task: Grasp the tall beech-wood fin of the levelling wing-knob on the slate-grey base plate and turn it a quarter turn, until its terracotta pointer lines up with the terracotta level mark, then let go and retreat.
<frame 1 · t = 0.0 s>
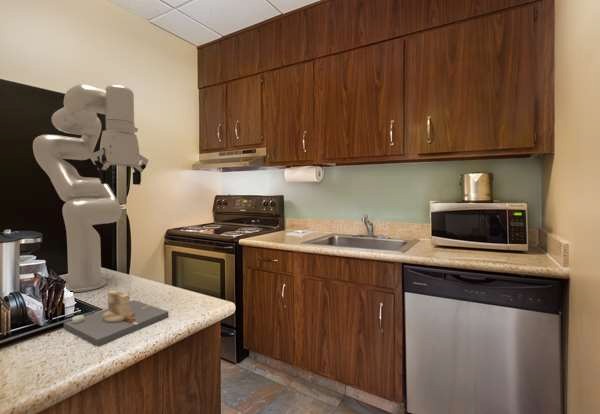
hand: (121, 184, 92), 37 cm above the worktop, tool pointing down, fingers open, 9 cm apart
base plate: (118, 322, 78), on the worktop
levelling knob: (121, 306, 77), point 5 cm above the worktop, hinge at 0.0°
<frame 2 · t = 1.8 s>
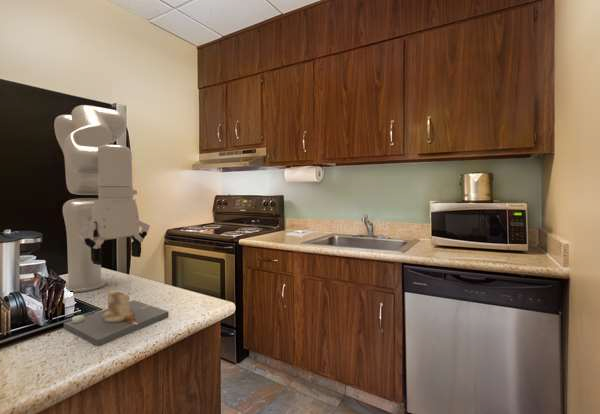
hand: (117, 260, 77), 17 cm above the worktop, tool pointing down, fingers open, 9 cm apart
nothing on the worktop moved.
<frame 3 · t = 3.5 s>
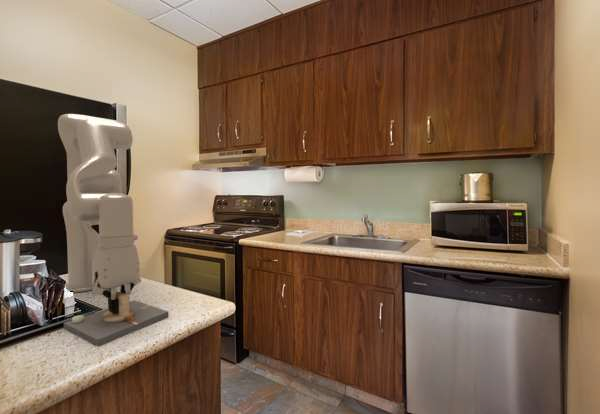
hand: (118, 310, 78), 3 cm above the worktop, tool pointing down, fingers closed
levelling knob: (121, 306, 77), point 5 cm above the worktop, hinge at 0.0°, touching gripper
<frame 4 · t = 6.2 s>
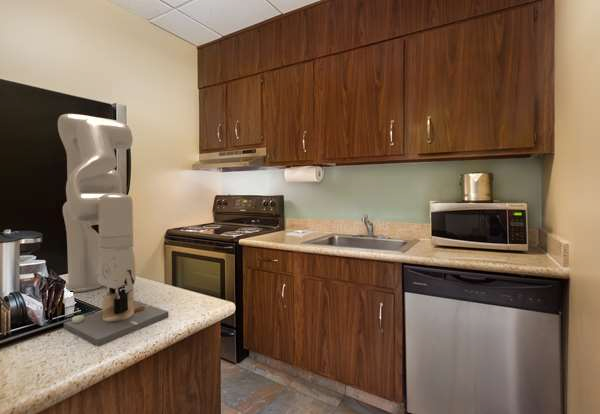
hand: (118, 310, 78), 3 cm above the worktop, tool pointing down, fingers closed on levelling knob, 2 cm apart
levelling knob: (124, 303, 79), point 5 cm above the worktop, hinge at 81.6°, touching gripper
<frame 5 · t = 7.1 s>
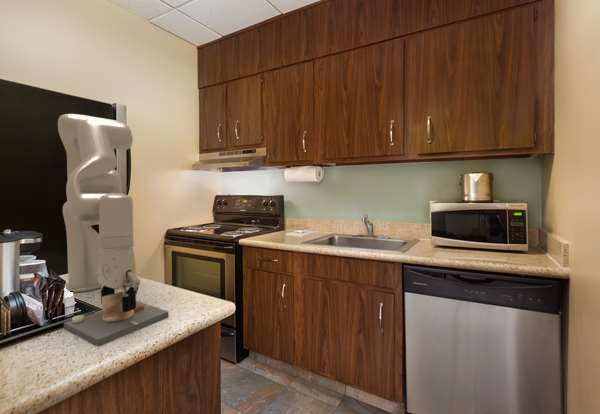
hand: (118, 306, 78), 4 cm above the worktop, tool pointing down, fingers open, 9 cm apart
levelling knob: (124, 303, 79), point 5 cm above the worktop, hinge at 84.6°
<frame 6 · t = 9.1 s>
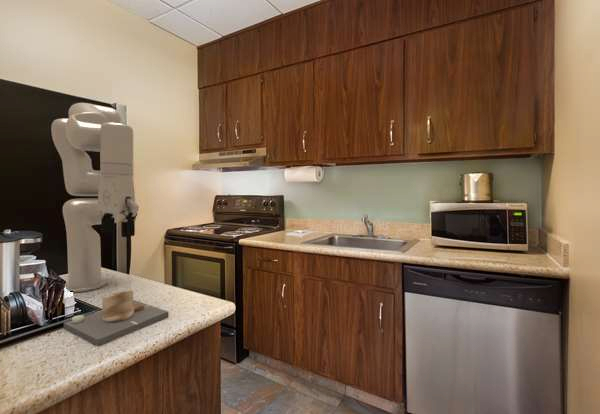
hand: (117, 234, 80), 23 cm above the worktop, tool pointing down, fingers open, 9 cm apart
levelling knob: (124, 303, 79), point 5 cm above the worktop, hinge at 85.1°
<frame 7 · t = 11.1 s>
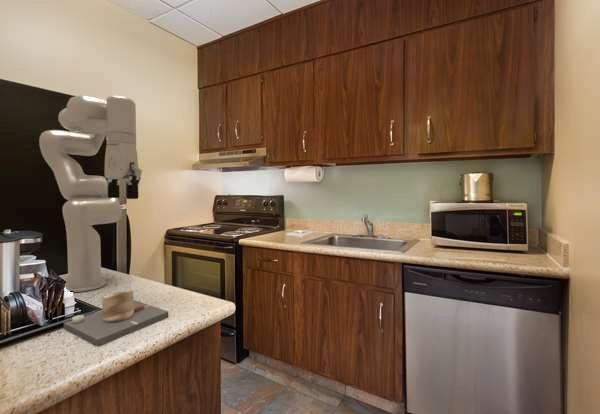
hand: (122, 198, 88), 32 cm above the worktop, tool pointing down, fingers open, 9 cm apart
nothing on the worktop moved.
at the end: levelling knob at +85° (first picture: +0°); the gripper is holding nothing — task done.
